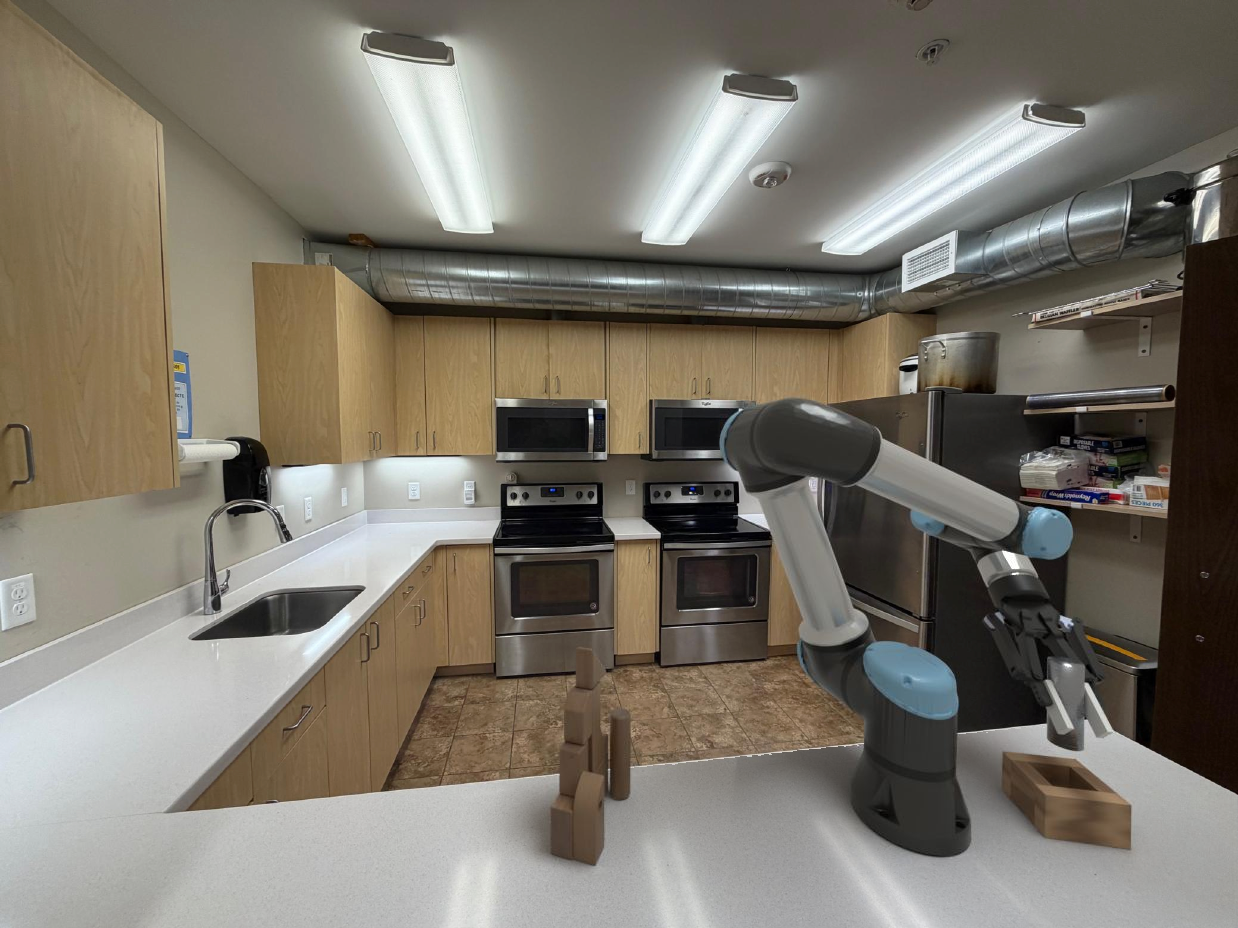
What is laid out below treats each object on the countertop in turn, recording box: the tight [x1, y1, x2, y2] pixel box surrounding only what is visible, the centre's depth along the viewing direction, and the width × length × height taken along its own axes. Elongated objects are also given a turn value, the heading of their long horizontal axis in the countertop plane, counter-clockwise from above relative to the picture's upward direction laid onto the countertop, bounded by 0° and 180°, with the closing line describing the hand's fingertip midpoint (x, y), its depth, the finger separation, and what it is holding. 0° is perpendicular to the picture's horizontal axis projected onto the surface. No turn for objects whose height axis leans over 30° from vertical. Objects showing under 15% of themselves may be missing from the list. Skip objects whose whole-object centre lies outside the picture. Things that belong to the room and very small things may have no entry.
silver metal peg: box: [1046, 655, 1085, 752], centre depth 70 cm, size 4×4×12 cm
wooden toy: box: [550, 646, 632, 866], centre depth 69 cm, size 15×7×25 cm, turn 161°
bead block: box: [1001, 751, 1133, 850], centre depth 70 cm, size 10×10×6 cm
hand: (1085, 732), depth 66 cm, fingers closed on silver metal peg, 4 cm apart
